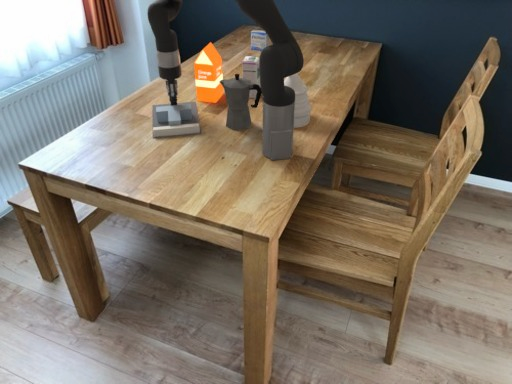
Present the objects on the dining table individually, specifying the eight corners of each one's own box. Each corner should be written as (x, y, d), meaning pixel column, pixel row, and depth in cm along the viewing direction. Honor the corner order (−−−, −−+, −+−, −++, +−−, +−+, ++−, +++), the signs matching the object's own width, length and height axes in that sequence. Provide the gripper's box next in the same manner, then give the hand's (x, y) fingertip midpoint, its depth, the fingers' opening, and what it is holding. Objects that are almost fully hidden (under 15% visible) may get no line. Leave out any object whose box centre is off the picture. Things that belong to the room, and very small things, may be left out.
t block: (157, 117, 155) (155, 106, 152) (191, 114, 157) (190, 104, 154) (157, 133, 145) (156, 122, 143) (194, 129, 147) (192, 119, 145)
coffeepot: (215, 126, 149) (211, 75, 139) (227, 115, 156) (225, 66, 146) (256, 135, 144) (256, 83, 134) (267, 123, 151) (268, 73, 140)
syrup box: (257, 98, 168) (257, 61, 159) (242, 97, 169) (241, 60, 160) (260, 92, 172) (260, 56, 164) (245, 91, 173) (245, 55, 165)
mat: (201, 134, 145) (201, 133, 145) (152, 139, 142) (152, 138, 142) (195, 102, 166) (195, 101, 165) (152, 105, 163) (152, 105, 163)
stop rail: (199, 132, 146) (199, 125, 144) (154, 136, 143) (153, 130, 142) (199, 129, 147) (198, 123, 146) (154, 134, 145) (153, 127, 143)
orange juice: (223, 94, 171) (221, 42, 160) (216, 103, 165) (212, 50, 153) (205, 92, 173) (201, 41, 161) (196, 101, 166) (192, 48, 155)
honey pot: (279, 130, 147) (281, 78, 137) (268, 113, 157) (269, 64, 147) (315, 125, 150) (319, 74, 140) (302, 109, 160) (305, 61, 150)
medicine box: (250, 49, 215) (250, 31, 210) (253, 47, 218) (253, 29, 213) (266, 51, 213) (266, 33, 208) (268, 48, 216) (268, 30, 211)
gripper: (181, 69, 142) (186, 117, 152) (179, 55, 152) (184, 101, 163) (157, 70, 141) (164, 119, 151) (157, 56, 151) (163, 103, 162)
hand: (174, 109), depth 157 cm, fingers closed
